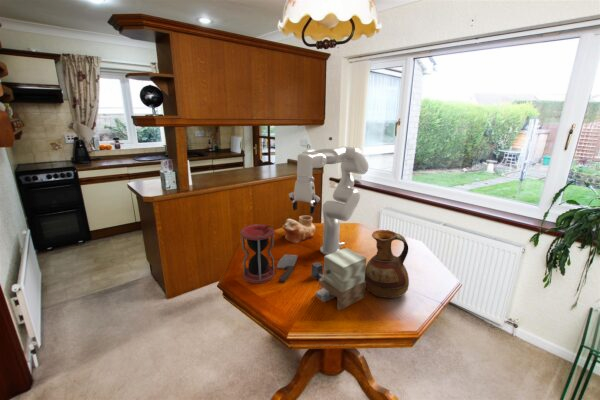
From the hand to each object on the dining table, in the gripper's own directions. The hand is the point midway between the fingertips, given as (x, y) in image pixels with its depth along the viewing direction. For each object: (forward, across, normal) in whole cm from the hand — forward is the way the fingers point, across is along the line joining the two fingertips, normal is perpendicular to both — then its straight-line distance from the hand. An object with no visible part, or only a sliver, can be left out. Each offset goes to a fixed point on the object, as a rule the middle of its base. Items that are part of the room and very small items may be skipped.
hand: (303, 211), depth 148 cm
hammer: (+32, -19, +9) cm, 38 cm away
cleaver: (+33, +8, +4) cm, 34 cm away
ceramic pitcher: (+32, -44, 0) cm, 55 cm away
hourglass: (+33, +16, +17) cm, 40 cm away
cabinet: (+32, -27, +14) cm, 44 cm away
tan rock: (+32, +19, -34) cm, 50 cm away
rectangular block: (+33, -21, +18) cm, 43 cm away
